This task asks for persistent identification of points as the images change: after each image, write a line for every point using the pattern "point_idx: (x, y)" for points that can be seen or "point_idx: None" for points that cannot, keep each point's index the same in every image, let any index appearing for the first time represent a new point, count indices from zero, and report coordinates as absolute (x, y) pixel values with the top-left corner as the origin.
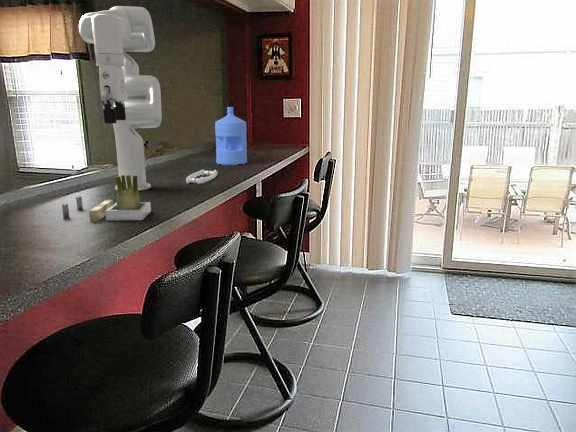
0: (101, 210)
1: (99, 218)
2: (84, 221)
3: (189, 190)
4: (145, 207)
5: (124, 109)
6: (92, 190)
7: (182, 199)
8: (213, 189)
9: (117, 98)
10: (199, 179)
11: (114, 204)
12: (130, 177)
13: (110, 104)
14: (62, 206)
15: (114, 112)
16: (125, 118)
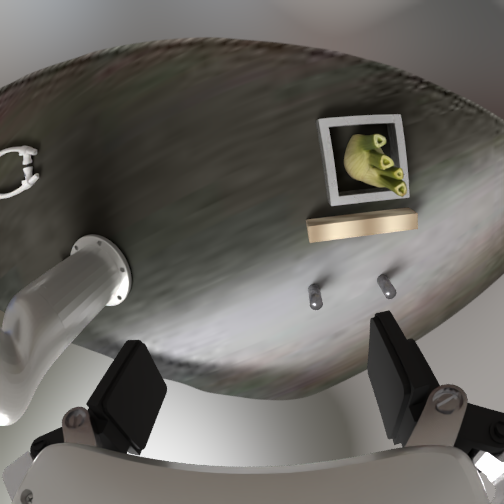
0: (388, 214)
1: (398, 209)
2: (405, 234)
3: (86, 134)
4: (368, 115)
5: (107, 390)
6: (143, 337)
7: (175, 98)
8: (73, 89)
9: (467, 463)
10: (29, 151)
11: (350, 202)
12: (383, 154)
13: (465, 426)
14: (394, 293)
15: (419, 365)
16: (133, 343)
